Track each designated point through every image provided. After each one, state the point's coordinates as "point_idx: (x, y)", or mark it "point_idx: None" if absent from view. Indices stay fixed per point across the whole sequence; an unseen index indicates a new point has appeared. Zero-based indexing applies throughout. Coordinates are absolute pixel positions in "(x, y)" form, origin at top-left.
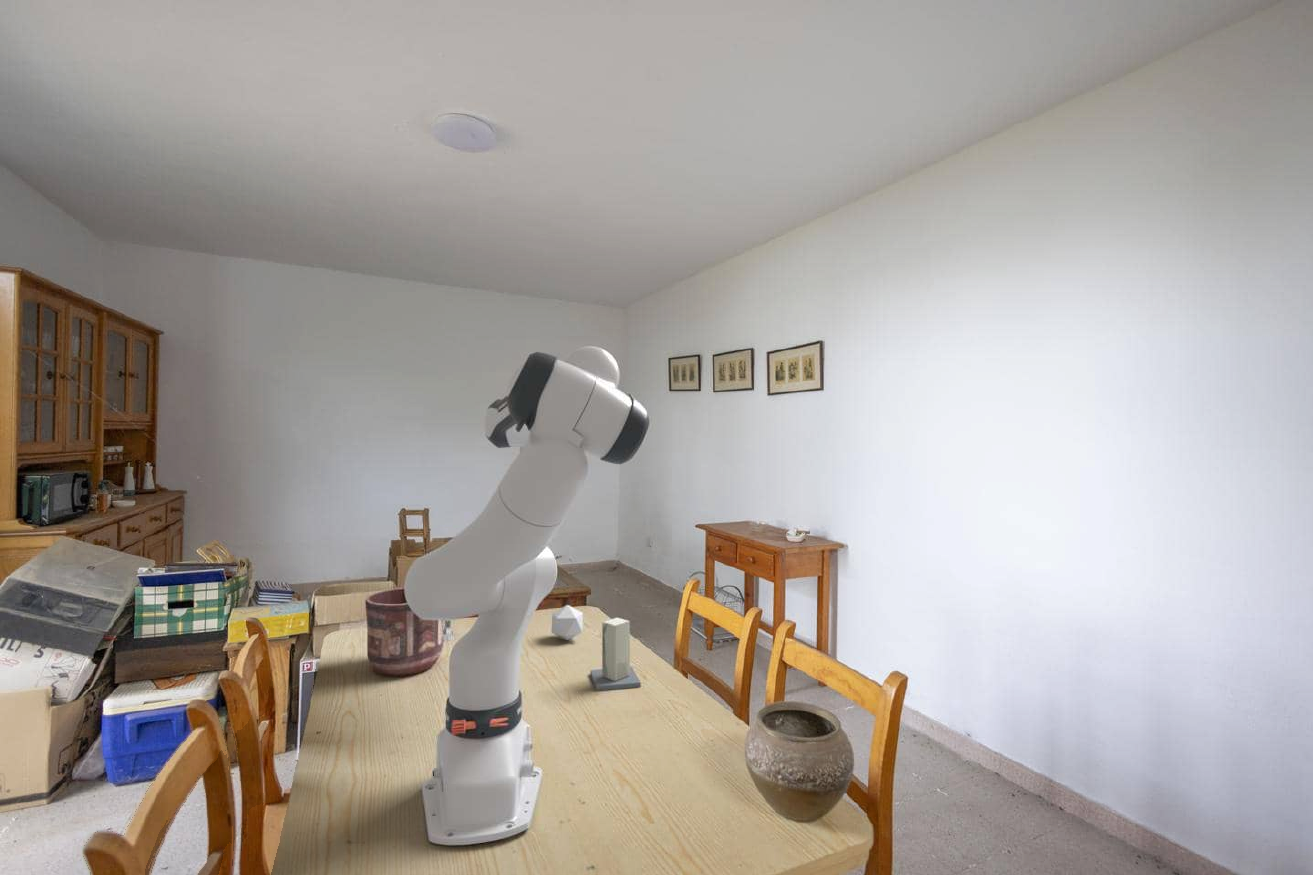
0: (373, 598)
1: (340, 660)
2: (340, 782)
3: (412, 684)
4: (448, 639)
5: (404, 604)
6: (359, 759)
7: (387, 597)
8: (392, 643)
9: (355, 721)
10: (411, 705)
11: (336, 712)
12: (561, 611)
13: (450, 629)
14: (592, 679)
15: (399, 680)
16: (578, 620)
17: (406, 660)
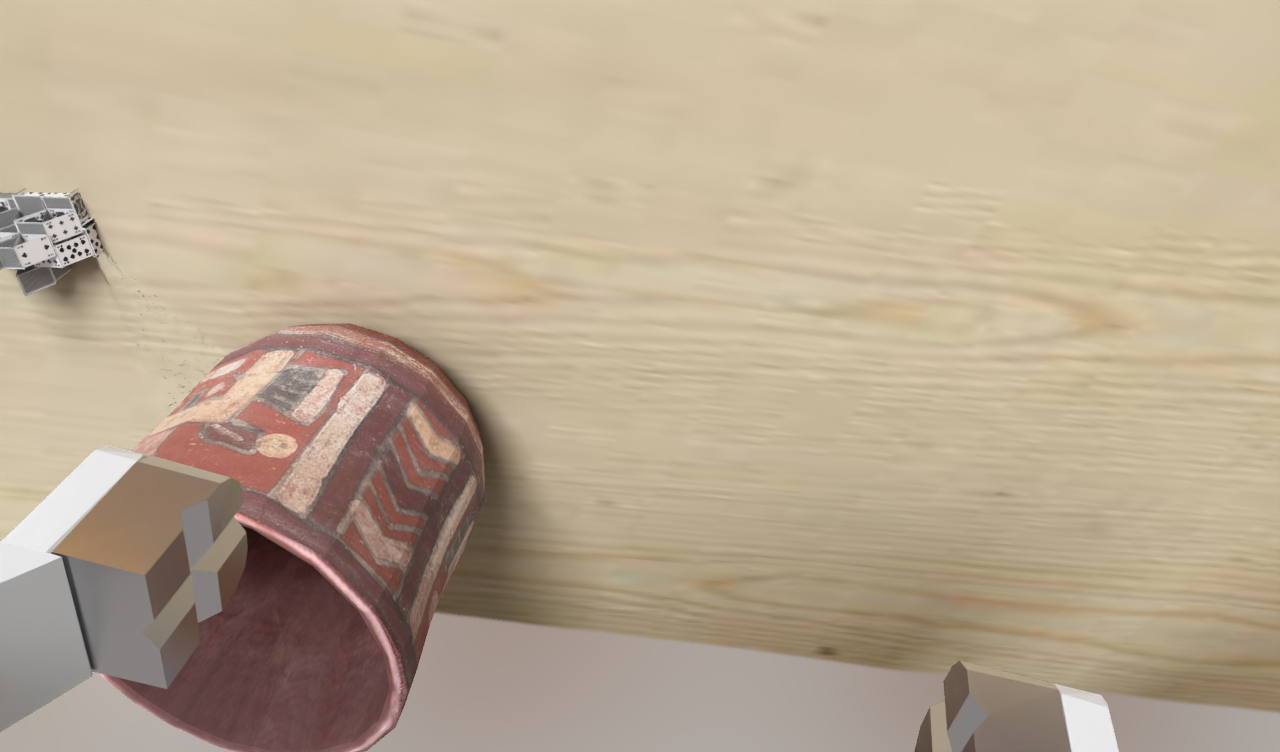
0: (212, 721)
1: None
2: (1192, 640)
3: (542, 412)
4: (75, 239)
5: (399, 675)
6: (1081, 596)
7: None
8: (452, 570)
9: (797, 579)
10: (746, 440)
11: (701, 609)
12: None
13: (23, 246)
14: None
15: (486, 442)
16: None
17: (481, 479)
